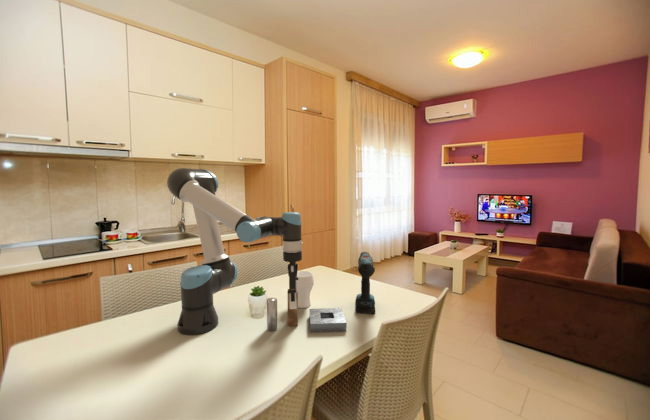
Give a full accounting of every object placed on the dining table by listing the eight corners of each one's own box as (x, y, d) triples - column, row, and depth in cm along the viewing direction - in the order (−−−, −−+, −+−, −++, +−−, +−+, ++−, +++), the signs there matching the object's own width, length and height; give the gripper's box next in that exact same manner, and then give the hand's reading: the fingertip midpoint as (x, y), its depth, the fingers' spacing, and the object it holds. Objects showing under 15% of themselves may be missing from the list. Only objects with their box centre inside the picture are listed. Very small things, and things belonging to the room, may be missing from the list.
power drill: (372, 298, 149) (373, 249, 147) (376, 318, 127) (377, 261, 125) (355, 297, 150) (355, 249, 148) (355, 317, 127) (356, 260, 125)
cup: (303, 311, 134) (303, 278, 132) (286, 305, 140) (286, 274, 139) (318, 304, 142) (318, 273, 141) (301, 298, 149) (301, 269, 147)
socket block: (310, 332, 115) (310, 323, 114) (309, 316, 128) (309, 308, 128) (346, 331, 116) (346, 322, 115) (341, 315, 130) (341, 307, 129)
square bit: (287, 326, 120) (287, 292, 119) (288, 321, 124) (287, 289, 123) (297, 325, 120) (297, 292, 119) (297, 321, 124) (297, 288, 123)
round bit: (266, 331, 115) (266, 301, 114) (267, 326, 119) (267, 297, 118) (276, 331, 116) (276, 301, 115) (277, 326, 119) (277, 297, 118)
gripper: (301, 257, 107) (303, 314, 109) (301, 244, 132) (302, 290, 134) (280, 258, 107) (282, 315, 108) (284, 244, 132) (285, 291, 133)
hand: (293, 302), depth 121 cm, fingers open, 13 cm apart
